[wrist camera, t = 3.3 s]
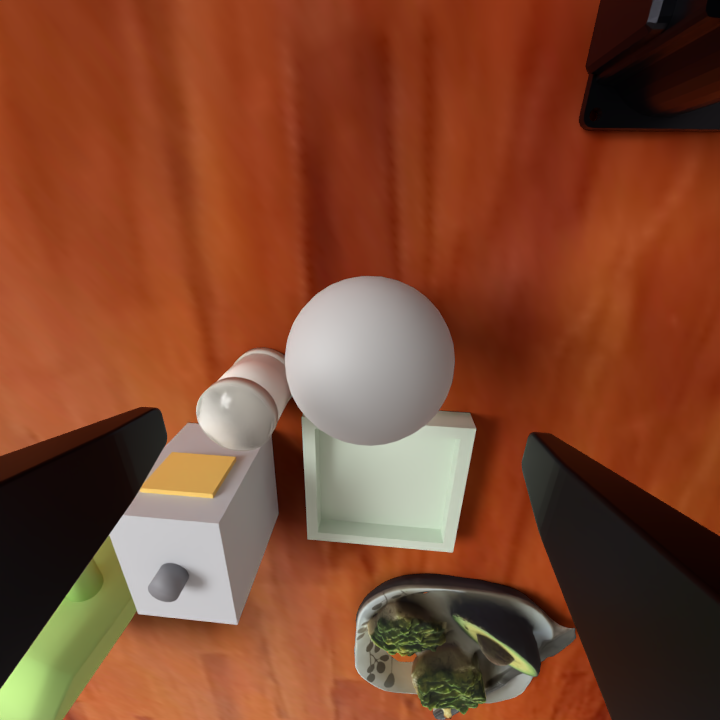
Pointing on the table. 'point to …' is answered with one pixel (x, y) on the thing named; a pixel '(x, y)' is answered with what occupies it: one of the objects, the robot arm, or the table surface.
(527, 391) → the table surface
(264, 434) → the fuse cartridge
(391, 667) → the salad plate
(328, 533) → the tray
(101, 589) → the gearbox
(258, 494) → the box
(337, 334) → the lightbulb
